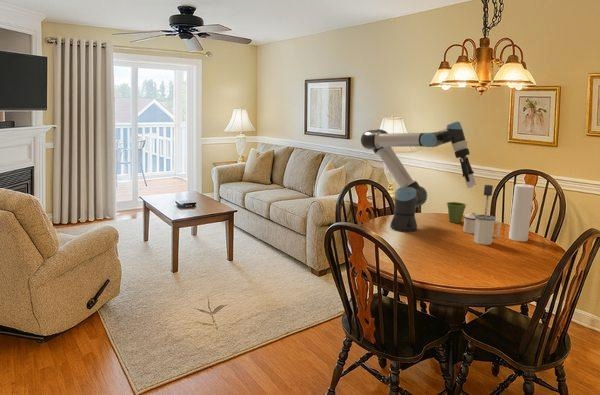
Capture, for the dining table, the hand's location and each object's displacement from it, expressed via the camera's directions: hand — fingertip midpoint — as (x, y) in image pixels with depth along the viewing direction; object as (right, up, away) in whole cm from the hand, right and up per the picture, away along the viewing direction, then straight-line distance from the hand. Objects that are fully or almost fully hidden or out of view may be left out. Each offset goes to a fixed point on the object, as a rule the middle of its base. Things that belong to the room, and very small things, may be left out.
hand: (472, 186), depth 256 cm
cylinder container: (+24, -29, -2) cm, 38 cm away
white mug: (+3, -30, -10) cm, 32 cm away
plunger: (+2, -19, -12) cm, 23 cm away
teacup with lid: (+3, -26, +11) cm, 28 cm away
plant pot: (+1, -21, +32) cm, 38 cm away
